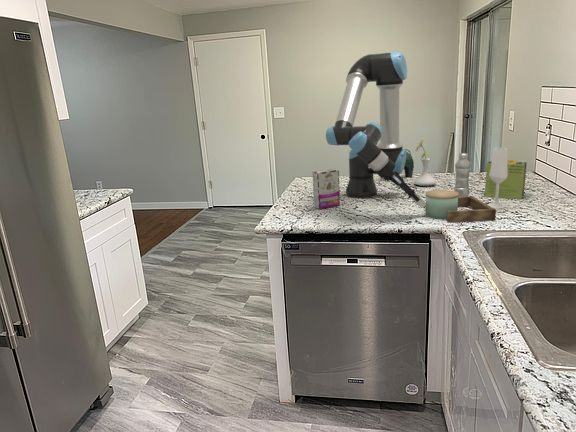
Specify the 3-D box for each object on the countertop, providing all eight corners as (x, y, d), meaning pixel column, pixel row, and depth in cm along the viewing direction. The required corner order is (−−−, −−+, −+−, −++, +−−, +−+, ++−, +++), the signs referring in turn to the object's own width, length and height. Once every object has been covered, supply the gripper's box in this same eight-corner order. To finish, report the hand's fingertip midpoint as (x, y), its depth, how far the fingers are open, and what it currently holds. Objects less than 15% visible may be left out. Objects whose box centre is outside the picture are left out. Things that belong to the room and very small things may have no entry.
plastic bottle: (470, 198, 197) (473, 154, 192) (454, 198, 199) (456, 154, 194) (467, 195, 204) (470, 152, 198) (452, 195, 205) (454, 152, 200)
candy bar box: (334, 203, 201) (333, 168, 197) (340, 205, 197) (339, 169, 193) (313, 207, 196) (311, 171, 192) (319, 209, 192) (317, 172, 188)
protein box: (522, 199, 192) (525, 164, 188) (484, 196, 200) (486, 162, 196) (524, 194, 201) (527, 160, 197) (487, 192, 209) (490, 159, 205)
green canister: (420, 216, 174) (421, 194, 172) (430, 209, 183) (431, 188, 181) (452, 220, 167) (453, 197, 165) (461, 212, 177) (462, 191, 174)
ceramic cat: (386, 181, 245) (386, 145, 240) (379, 179, 251) (379, 144, 245) (415, 177, 252) (416, 142, 247) (407, 175, 258) (408, 141, 253)
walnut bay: (448, 222, 165) (448, 211, 164) (430, 207, 187) (430, 198, 186) (495, 220, 164) (496, 209, 163) (471, 205, 186) (472, 196, 185)
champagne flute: (483, 205, 185) (487, 148, 178) (495, 203, 187) (499, 147, 181) (496, 209, 179) (501, 150, 172) (508, 206, 181) (513, 148, 175)
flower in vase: (420, 182, 238) (421, 135, 232) (440, 184, 230) (442, 136, 224) (407, 186, 229) (408, 138, 223) (427, 188, 221) (429, 138, 215)
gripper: (372, 169, 177) (412, 208, 181) (377, 174, 165) (420, 216, 168) (385, 155, 176) (426, 195, 179) (392, 160, 163) (435, 202, 167)
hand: (423, 205), depth 174 cm, fingers closed
